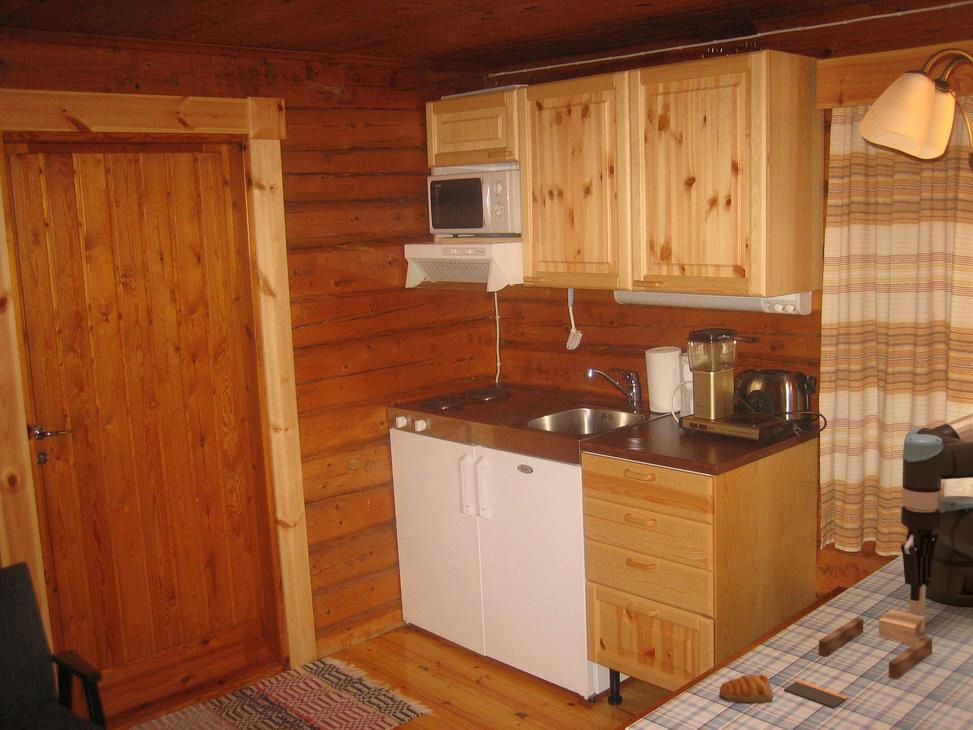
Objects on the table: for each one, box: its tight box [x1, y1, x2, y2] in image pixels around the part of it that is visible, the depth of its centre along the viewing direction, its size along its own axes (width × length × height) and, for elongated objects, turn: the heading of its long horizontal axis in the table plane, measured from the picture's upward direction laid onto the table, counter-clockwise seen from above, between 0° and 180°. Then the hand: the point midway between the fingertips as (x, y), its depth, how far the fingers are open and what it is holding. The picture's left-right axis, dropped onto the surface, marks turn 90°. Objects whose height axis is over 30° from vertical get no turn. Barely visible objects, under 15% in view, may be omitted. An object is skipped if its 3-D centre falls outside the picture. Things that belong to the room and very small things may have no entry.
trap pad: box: [783, 679, 848, 709], centre depth 181 cm, size 5×10×1 cm, turn 43°
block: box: [878, 608, 926, 646], centre depth 205 cm, size 7×7×4 cm
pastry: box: [719, 673, 774, 703], centre depth 181 cm, size 9×7×4 cm
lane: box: [818, 616, 933, 680], centre depth 197 cm, size 16×16×3 cm
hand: (917, 613), depth 210 cm, fingers closed
